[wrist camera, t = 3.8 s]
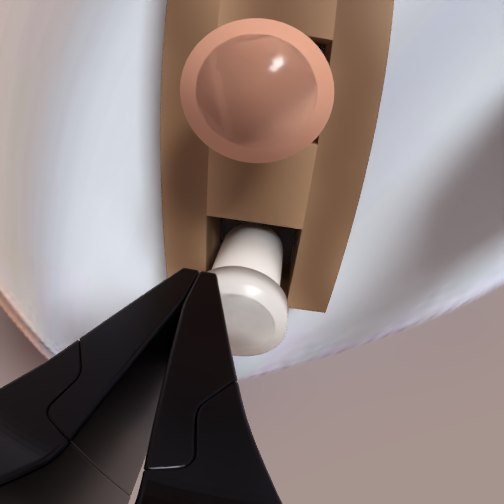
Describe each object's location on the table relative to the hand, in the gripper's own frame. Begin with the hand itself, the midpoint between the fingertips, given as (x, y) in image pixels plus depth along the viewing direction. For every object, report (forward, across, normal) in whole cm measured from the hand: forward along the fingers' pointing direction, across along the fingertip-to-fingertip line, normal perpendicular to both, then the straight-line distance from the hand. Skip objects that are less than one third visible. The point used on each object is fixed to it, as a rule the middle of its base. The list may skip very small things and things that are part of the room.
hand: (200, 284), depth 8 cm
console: (+12, 0, -4) cm, 13 cm away
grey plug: (+10, -1, +5) cm, 11 cm away
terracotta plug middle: (+10, 0, -4) cm, 11 cm away
